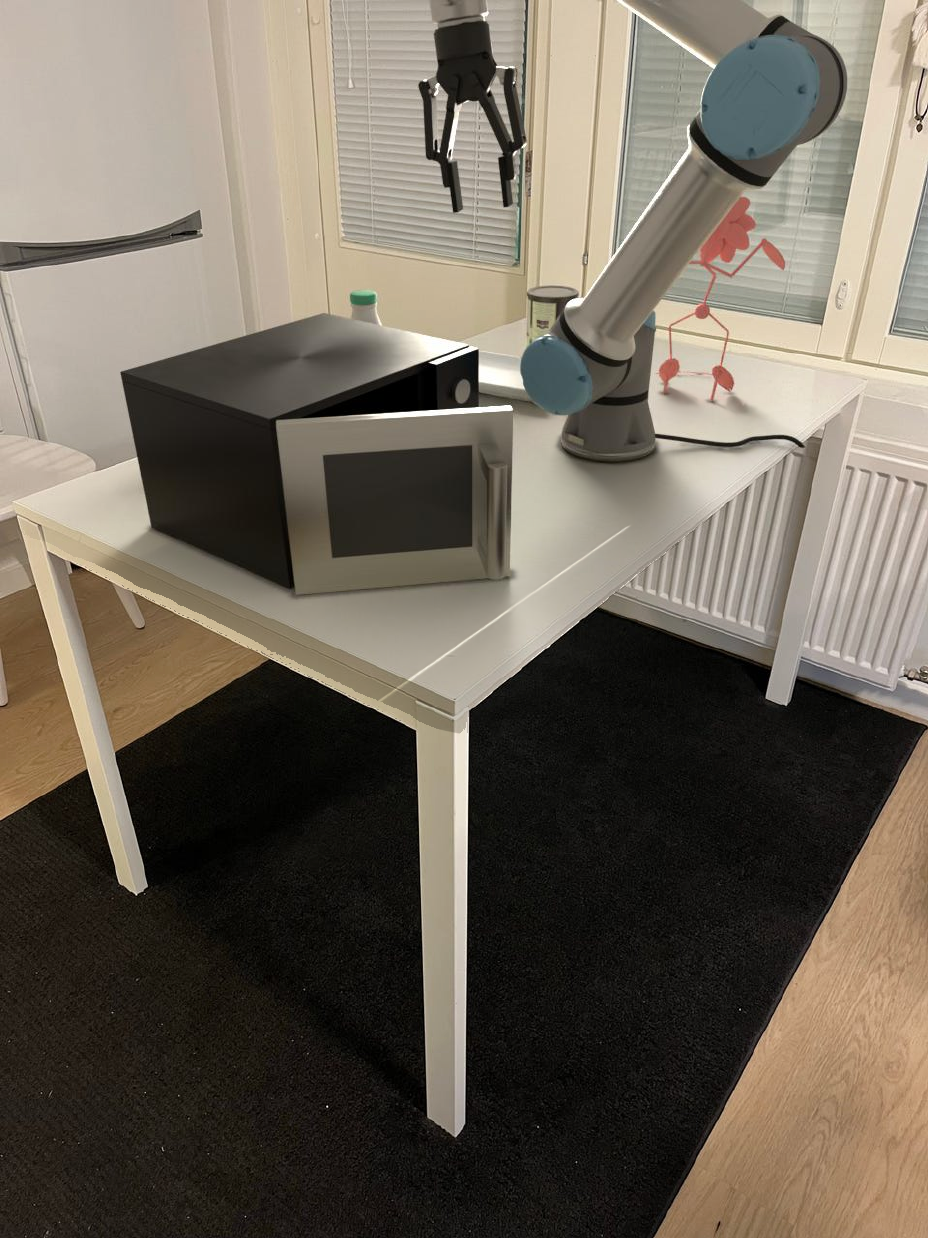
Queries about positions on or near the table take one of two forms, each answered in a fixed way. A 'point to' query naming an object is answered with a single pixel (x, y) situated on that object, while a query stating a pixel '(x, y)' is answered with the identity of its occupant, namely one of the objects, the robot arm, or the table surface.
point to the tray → (501, 376)
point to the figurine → (725, 245)
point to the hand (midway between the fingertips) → (483, 207)
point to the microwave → (271, 422)
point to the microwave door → (397, 497)
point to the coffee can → (546, 308)
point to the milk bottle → (364, 306)
